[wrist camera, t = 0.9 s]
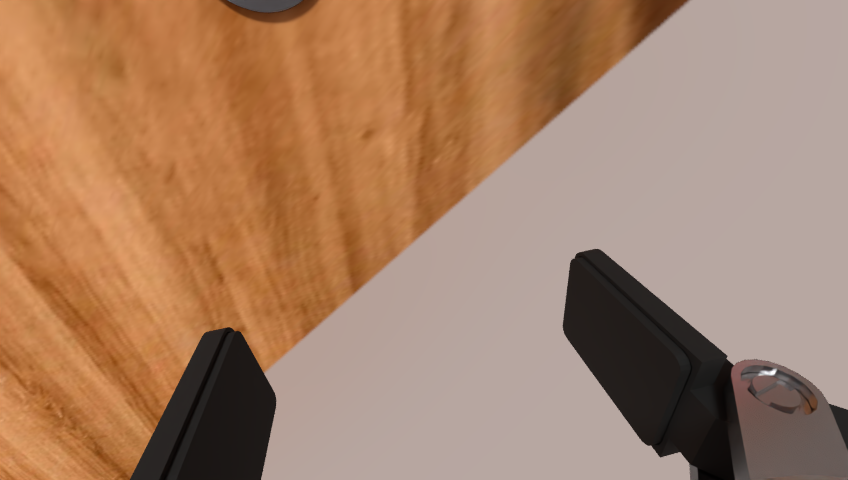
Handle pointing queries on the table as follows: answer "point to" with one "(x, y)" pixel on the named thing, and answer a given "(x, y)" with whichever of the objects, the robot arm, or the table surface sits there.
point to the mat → (266, 5)
